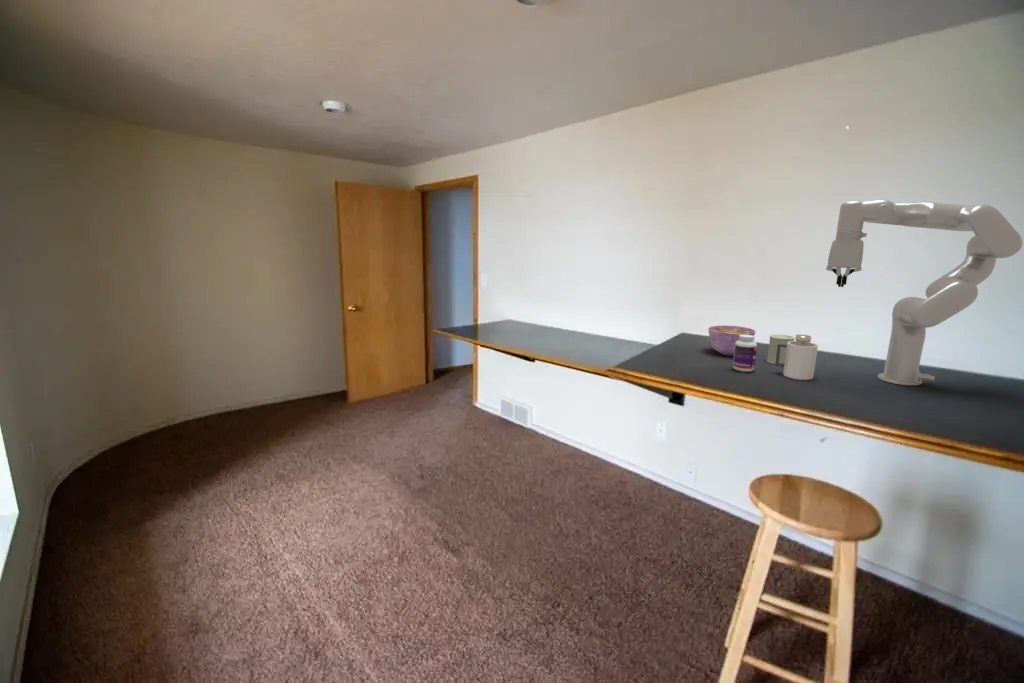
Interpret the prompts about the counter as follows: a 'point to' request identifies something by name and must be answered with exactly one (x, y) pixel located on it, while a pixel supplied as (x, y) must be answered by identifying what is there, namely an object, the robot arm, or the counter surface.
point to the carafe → (798, 360)
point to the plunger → (803, 339)
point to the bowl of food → (727, 337)
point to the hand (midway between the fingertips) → (840, 286)
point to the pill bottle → (745, 353)
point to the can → (774, 344)
